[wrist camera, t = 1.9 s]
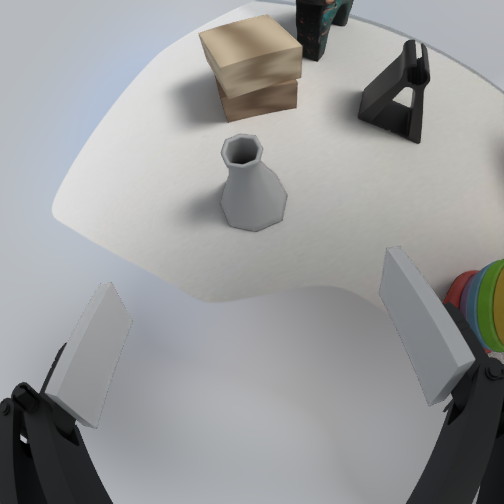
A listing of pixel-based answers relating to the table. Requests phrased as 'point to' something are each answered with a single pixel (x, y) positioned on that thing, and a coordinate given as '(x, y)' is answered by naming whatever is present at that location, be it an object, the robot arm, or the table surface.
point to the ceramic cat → (318, 23)
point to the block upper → (251, 55)
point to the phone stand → (389, 85)
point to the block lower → (260, 101)
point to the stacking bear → (482, 303)
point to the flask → (250, 186)
